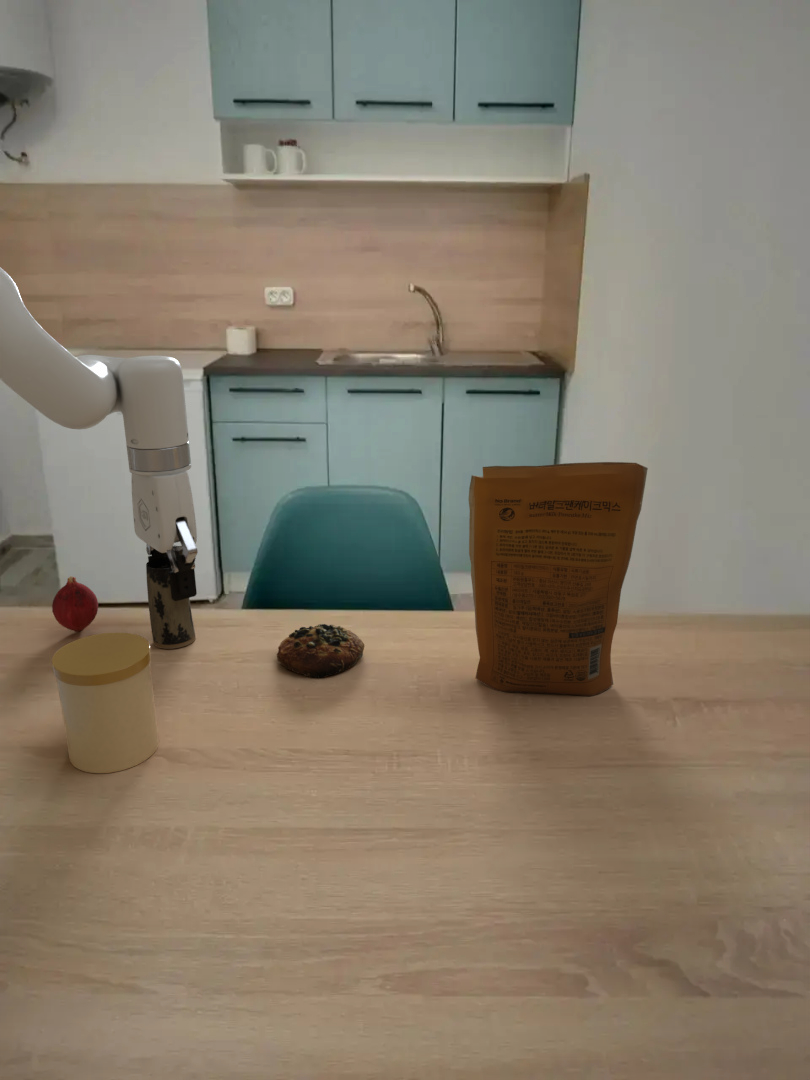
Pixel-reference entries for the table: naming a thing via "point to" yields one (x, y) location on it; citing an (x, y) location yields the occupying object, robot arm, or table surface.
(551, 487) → the pancake mix bag
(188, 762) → the table surface
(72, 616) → the onion
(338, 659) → the bread roll
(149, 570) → the mug
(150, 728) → the jar
